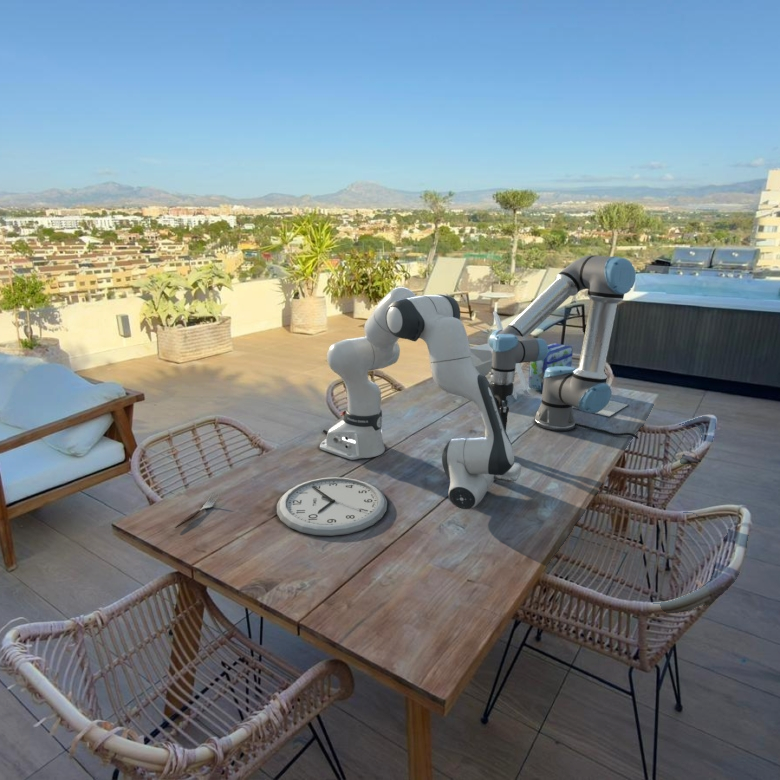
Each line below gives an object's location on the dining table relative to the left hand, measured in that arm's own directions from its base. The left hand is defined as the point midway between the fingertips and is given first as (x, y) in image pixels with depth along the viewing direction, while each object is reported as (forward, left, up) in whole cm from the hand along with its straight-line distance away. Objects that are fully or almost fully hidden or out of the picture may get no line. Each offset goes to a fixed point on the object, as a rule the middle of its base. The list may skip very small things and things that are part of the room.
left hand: (491, 456), depth 160 cm
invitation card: (+26, +87, -7) cm, 91 cm away
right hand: (-3, +18, -5) cm, 19 cm away
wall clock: (-34, -38, -7) cm, 51 cm away
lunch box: (0, +105, -7) cm, 105 cm away
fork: (-63, -58, -7) cm, 86 cm away
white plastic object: (-27, +82, -7) cm, 86 cm away
